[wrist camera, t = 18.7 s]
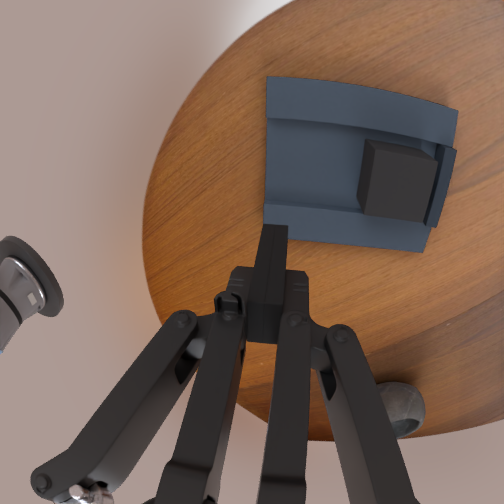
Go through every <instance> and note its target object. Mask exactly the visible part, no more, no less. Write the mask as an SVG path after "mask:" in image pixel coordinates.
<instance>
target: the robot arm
mask: <svg viewBox="0 0 504 504" xmlns="http://www.w3.org/2000/svg"><path fill="white" fill-rule="evenodd" d="M287 243H288V225H275V224H263V228H262V232H261V237H260V242H259V246H258V251H257V256H256V260H255V265H254V267H243V266H237V267H236V268H235V269H234V270H233V271H232V272H231V275H230V278H229V282H228V285H227V288H226V291H223V292H220V293H219V294H217V295H216V297H215V298H214V304H215V312H214V313H212V314H210V315H205V316H196V314H195V313H194V312H192V311H190V310H179V311H177V312H174V313H173V314H172V315H171V316H170V317H169V318H168V319H167V321H166V322H165V323H164V324H163V326H162V327H161V328H160V329H159V331H158V332H157V333H156V335H155V336H154V337H153V338H152V340H151V341H150V342H149V343H148V345H147V346H146V347H145V348H144V350H143V351H142V352H141V354H140V355H139V356H138V357H137V359H136V360H135V361H134V362H133V364H132V365H131V367H130V368H129V369H128V371H126V373H125V374H124V375H123V377H122V378H121V379H120V381H119V382H118V383H117V384H116V386H115V387H114V388H113V390H112V391H111V392H110V394H109V395H108V396H107V398H106V399H105V400H104V401H103V403H102V404H101V405H100V407H99V408H98V409H97V411H96V412H95V413H94V415H93V416H92V417H91V419H90V420H89V421H88V423H87V424H86V426H85V427H84V428H83V429H82V431H81V432H80V433H79V435H78V436H77V438H76V439H75V440H74V442H73V443H72V444H71V446H70V447H69V449H67V450H66V451H64V452H62V453H61V454H59V455H58V456H56V457H54V458H53V459H51V460H50V461H48V462H46V463H44V464H43V465H41V466H39V467H38V468H36V469H35V470H34V471H33V472H32V474H31V486H32V488H33V490H34V491H35V493H36V494H37V495H38V496H40V497H41V498H44V499H47V500H50V501H53V502H54V504H114V500H113V496H112V494H111V493H112V492H114V491H115V490H116V489H117V488H118V487H119V486H120V485H121V484H122V483H123V482H124V481H125V480H126V478H127V477H128V476H129V474H130V473H131V471H132V470H133V468H134V466H135V465H136V463H137V462H138V460H139V459H140V457H141V456H142V454H143V453H144V451H145V450H146V448H147V447H148V445H149V444H150V442H151V440H152V439H153V437H154V436H155V434H156V433H157V431H158V430H159V428H160V426H161V425H162V423H163V422H164V420H165V419H166V417H167V416H168V414H169V413H170V411H171V409H172V408H173V406H174V405H175V403H176V401H177V400H178V398H179V397H180V395H181V393H182V392H183V390H184V389H185V387H186V386H187V384H188V383H189V381H190V380H191V378H192V376H193V375H194V373H195V372H196V370H197V368H198V367H199V368H198V371H197V374H196V378H195V381H194V384H193V388H192V391H191V395H190V398H189V401H188V405H187V408H186V412H185V415H184V419H183V422H182V425H181V429H180V432H179V436H178V439H177V443H176V446H175V450H174V453H173V456H172V458H171V460H170V461H169V462H168V463H167V464H166V465H165V467H164V470H163V473H162V477H161V480H160V483H159V487H158V491H157V494H156V497H154V498H152V499H150V500H148V501H146V502H144V503H143V504H217V501H218V497H219V490H220V480H221V474H222V469H223V464H224V460H225V455H226V449H227V445H228V440H229V435H230V430H231V424H232V419H233V414H234V409H235V404H236V399H237V394H238V389H239V384H240V378H241V373H242V368H243V363H244V357H245V352H246V340H247V341H248V342H257V343H267V344H278V345H277V353H276V361H275V371H274V380H273V388H272V396H271V404H270V412H269V420H268V427H267V435H266V442H265V449H264V456H263V463H262V470H261V476H260V483H259V488H258V494H257V500H256V504H305V500H306V481H305V469H306V468H305V467H306V456H307V442H308V425H309V403H310V371H311V368H312V369H315V370H316V373H317V377H318V380H319V384H320V387H321V391H322V395H323V398H324V402H325V406H326V409H327V413H328V417H329V421H330V424H331V428H332V432H333V436H334V440H335V444H336V447H337V452H338V455H339V459H340V463H341V468H342V472H343V476H344V480H345V483H346V488H347V492H348V497H349V501H350V504H420V503H419V502H418V501H417V499H416V498H415V496H414V493H413V490H412V486H411V483H410V479H409V476H408V473H407V470H406V466H405V463H404V460H403V457H402V454H401V451H400V448H399V445H398V442H397V439H396V436H395V433H394V430H393V428H392V425H391V422H390V419H389V416H388V414H387V411H386V408H385V406H384V403H383V400H382V398H381V395H380V392H379V390H378V387H377V385H376V382H375V380H374V377H373V375H372V372H371V370H370V367H369V365H368V362H367V360H366V357H365V355H364V352H363V350H362V348H361V345H360V343H359V341H358V338H357V336H356V334H355V332H354V331H353V329H351V328H350V327H349V326H346V325H343V324H336V325H333V326H331V327H330V328H326V327H323V326H320V325H318V324H316V323H315V322H314V321H313V320H312V319H311V317H310V315H309V278H308V276H307V275H306V273H305V271H297V270H286V258H287ZM46 303H47V294H46V291H45V289H44V286H43V285H42V283H41V281H40V279H39V278H38V277H37V275H36V274H35V272H34V271H33V270H32V269H31V268H30V267H29V266H28V265H27V264H26V263H25V262H24V261H23V260H22V259H20V258H19V257H17V256H15V255H8V256H7V257H6V258H5V259H4V260H3V261H2V263H1V265H0V354H1V353H3V350H4V348H5V347H6V345H7V344H8V342H9V341H10V339H11V338H12V337H13V335H14V334H15V332H16V331H17V329H18V328H19V327H20V325H21V324H22V322H23V321H24V320H26V319H27V318H29V317H30V316H32V315H33V314H35V313H36V312H38V311H40V310H41V309H43V307H44V306H45V305H46Z"/></svg>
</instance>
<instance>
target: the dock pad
mask: <svg viewBox="0 0 504 504" xmlns="http://www.w3.org/2000/svg"><path fill="white" fill-rule="evenodd" d="M457 117H458V110H455V109H452V108H449V107H446V106H443V105H439V104H436V103H433V102H430V101H426V100H423V99H419V98H415V97H411V96H407V95H403V94H399V93H395V92H391V91H386V90H381V89H376V88H371V87H366V86H360V85H354V84H347V83H340V82H333V81H325V80H315V79H305V78H291V77H270V76H267V85H266V118H267V139H266V177H265V201H264V210H263V224H275V225H288V239H293V240H303V241H314V242H324V243H334V244H345V245H354V246H364V247H374V248H383V249H393V250H402V251H411V252H420V253H423V250H424V248H425V245H426V242H427V239H428V236H429V233H430V230H431V227H434V228H436V227H437V224H438V221H439V218H440V214H441V211H442V208H443V205H444V201H445V198H446V194H447V190H448V187H449V183H450V179H451V175H452V171H453V166H454V162H455V157H456V152H457V150H455V149H454V148H452V147H453V141H454V136H455V130H456V124H457ZM365 139H371V140H377V141H382V142H388V143H393V144H398V145H403V146H408V147H412V148H417V149H421V150H423V151H424V152H425V153H427V154H428V155H430V156H431V157H432V158H434V159H435V160H436V161H437V162H438V166H437V170H436V175H435V179H434V183H433V187H432V191H431V195H430V198H429V202H428V206H427V209H426V213H425V216H424V219H423V222H422V223H419V222H412V221H405V220H398V219H391V218H384V217H376V216H368V215H364V214H363V212H362V209H361V207H360V204H359V202H358V200H357V197H356V195H357V189H358V183H359V177H360V171H361V164H362V157H363V150H364V143H365Z"/></svg>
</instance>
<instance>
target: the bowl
mask: <svg viewBox="0 0 504 504" xmlns="http://www.w3.org/2000/svg"><path fill="white" fill-rule="evenodd" d="M377 387H378V390H379V392H380V395H381V398H382V400H383V403H384V406H385V408H386V411H387V414H388V416H389V419H390V422H391V425H392V428H393V430H394V433H395V436H396V439H398V438H402V437H405V436H407V435H409V434H411V433H413V432H414V431H416V430H417V429H419V428H420V427H421V426H422V424H423V421H424V418H425V403H424V400H423V397H422V395H421V393H420V392H419V391H418V390H417V388H416V387H414V386H412V385H410V384H406V383H401V382H385V383H381V384H377Z"/></svg>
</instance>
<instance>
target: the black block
mask: <svg viewBox="0 0 504 504" xmlns="http://www.w3.org/2000/svg"><path fill="white" fill-rule="evenodd" d="M437 166H438V162H437V161H436V160H435V159H434V158H432V157H431V156H430V155H428V154H427V153H425V152H424V151H423V150H421V149H417V148H412V147H408V146H403V145H398V144H393V143H388V142H382V141H377V140H371V139H365V143H364V150H363V157H362V164H361V171H360V177H359V183H358V189H357V195H356V197H357V200H358V202H359V204H360V207H361V209H362V212H363V214H364V215H368V216H376V217H384V218H391V219H398V220H405V221H412V222H419V223H422V222H423V219H424V216H425V213H426V209H427V206H428V202H429V198H430V195H431V191H432V187H433V183H434V179H435V175H436V170H437Z"/></svg>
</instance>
